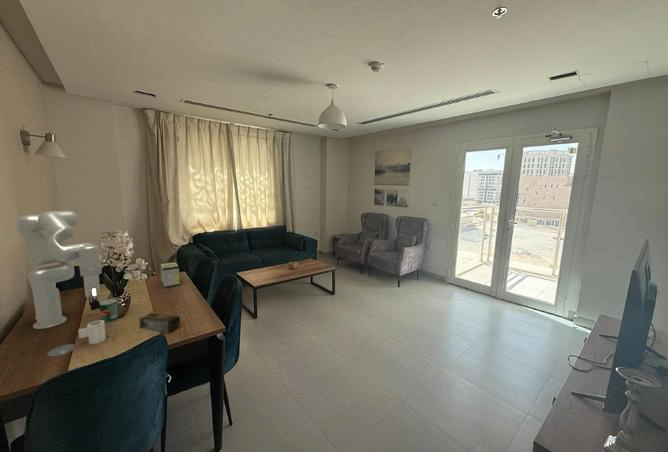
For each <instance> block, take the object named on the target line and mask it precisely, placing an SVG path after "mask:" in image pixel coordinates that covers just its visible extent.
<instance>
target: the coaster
mask: <svg viewBox="0 0 668 452" xmlns="http://www.w3.org/2000/svg"><path fill="white" fill-rule="evenodd" d="M75 349H76V344H72V343H71V344H70V343H69V344H64V345H60V346H57V347H54V348H52V349H51V350H49V351H48V352H47V356H48V357H53V358H54V357H59V356H63V355H66V354H69V353H71V352H72V351H74V350H75Z"/></svg>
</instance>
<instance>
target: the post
mask: <svg viewBox="0 0 668 452" xmlns="http://www.w3.org/2000/svg"><path fill="white" fill-rule="evenodd" d="M109 338H110V336H109V335H108V334H106V340H104V341H102V342H100V343H97V344H96V345H98V344H102V343H104V342H106V341H108V340H109ZM86 345H89V346H90V345H91V346H92V345H95V344H89V339H88V340H87V341H86Z"/></svg>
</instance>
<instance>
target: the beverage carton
mask: <svg viewBox="0 0 668 452" xmlns="http://www.w3.org/2000/svg"><path fill="white" fill-rule="evenodd" d="M138 319H139V329H145V330H151V331H155V332H160V333H167V334H170V333H171V332H173V331H175V330H176V329H178V328H180V327H181V325H180V323H181V322H180V316H177V315H170V314H168V315H167V314H162V313H154V312H150V313H148V314H146V315H143V316H142V317H140V318H138Z"/></svg>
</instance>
